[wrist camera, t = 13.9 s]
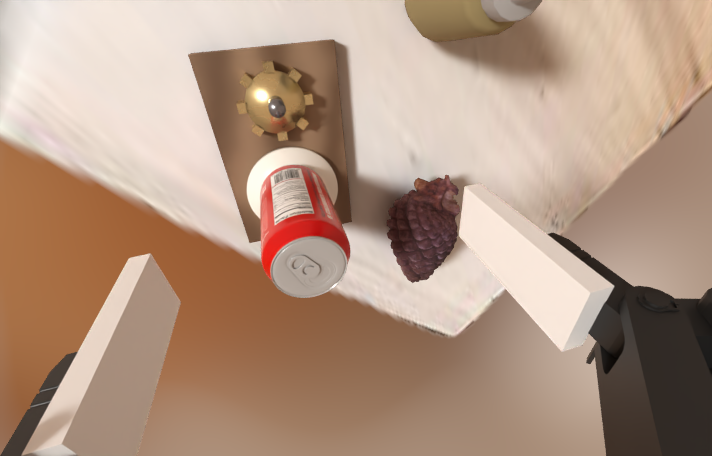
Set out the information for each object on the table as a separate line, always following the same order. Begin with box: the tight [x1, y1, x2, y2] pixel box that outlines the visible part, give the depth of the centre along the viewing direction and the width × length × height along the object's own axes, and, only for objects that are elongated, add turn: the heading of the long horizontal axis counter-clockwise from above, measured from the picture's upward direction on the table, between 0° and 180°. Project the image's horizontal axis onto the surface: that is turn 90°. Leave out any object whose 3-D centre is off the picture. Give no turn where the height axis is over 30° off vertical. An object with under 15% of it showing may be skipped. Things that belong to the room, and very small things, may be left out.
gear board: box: [188, 40, 352, 243], centre depth 37 cm, size 14×22×2 cm, turn 6°
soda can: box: [260, 165, 350, 298], centre depth 32 cm, size 8×8×15 cm
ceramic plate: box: [247, 146, 338, 218], centre depth 39 cm, size 11×11×1 cm
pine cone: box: [387, 175, 460, 283], centre depth 44 cm, size 18×10×10 cm, turn 176°
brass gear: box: [237, 60, 313, 141], centre depth 32 cm, size 8×8×4 cm
